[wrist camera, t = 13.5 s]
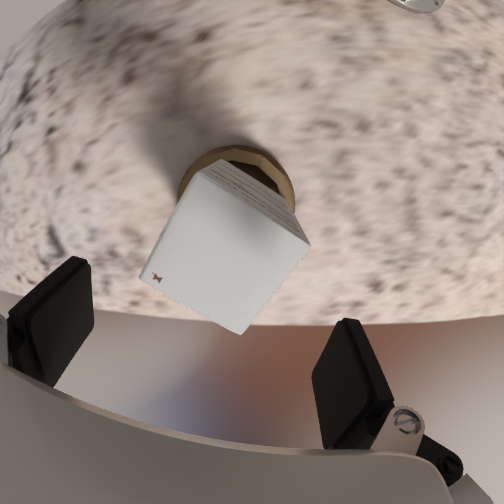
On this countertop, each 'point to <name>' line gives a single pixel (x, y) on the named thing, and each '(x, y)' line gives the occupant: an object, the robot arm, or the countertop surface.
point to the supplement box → (226, 247)
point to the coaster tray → (246, 169)
